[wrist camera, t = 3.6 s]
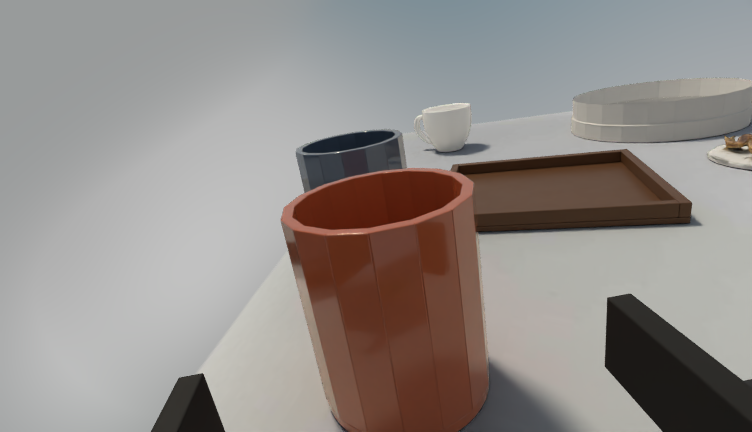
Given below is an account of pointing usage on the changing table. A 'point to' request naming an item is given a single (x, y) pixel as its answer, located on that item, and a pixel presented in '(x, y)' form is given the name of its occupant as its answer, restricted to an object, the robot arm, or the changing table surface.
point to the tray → (572, 192)
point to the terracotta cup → (393, 298)
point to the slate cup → (350, 156)
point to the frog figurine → (734, 152)
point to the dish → (663, 110)
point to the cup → (445, 126)
